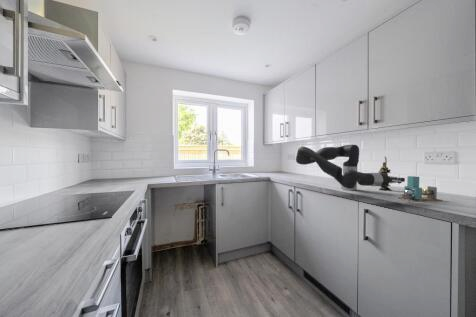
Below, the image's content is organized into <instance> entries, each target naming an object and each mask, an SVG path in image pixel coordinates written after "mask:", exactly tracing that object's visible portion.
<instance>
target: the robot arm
mask: <svg viewBox="0 0 476 317" xmlns="http://www.w3.org/2000/svg"><path fill="white" fill-rule="evenodd" d="M341 157H342V158H348V159H347V160H346V161H344V162H343V163H342V167H341V166H339V165H337V164H335V163H333V162H332V161H331V160H335V159H337V158H341ZM359 158H360V148H359V145H357V144H344V145H341V146H335V147H334V146H327V147H322V148H320V149H318V150H317V151H314V150H313V149H311V148H309V147H307V146H300V147H299V148H298V149H297V153H296V157H295V162H296V163H297V164H299V165H302V166H303V165H304V166H305V165H309V164H313V163H316V164H317V166H318V167H319V168H320V170H321V171H322V172H324V173H325V174H327V175H328V176H330V177H332V178H333V179H334V180H336V181H337V183H339V184H340V186H341V190H342V189H343V190H346V191H357V190H358V185H360V186H364V187H365V186H371V187H381V186H387V185H388V184H389V185H390V184H402V183H404V182H405V180H406V178H404V177H398V176H393V175H389V174H388V173H387V174H388V175H387V174H386V173H380V172H361V171H358V165H359V160H360V159H359ZM330 161H331V162H330Z"/></svg>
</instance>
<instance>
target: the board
mask: <svg viewBox="0 0 476 317" xmlns="http://www.w3.org/2000/svg"><path fill="white" fill-rule="evenodd" d="M397 199H399V200H403V201H407V202H411V201H414V202H443V199H439V198H436V199H431V198H427V196H422V199H412V200H409V199H404V198H402V197H401V196H397Z"/></svg>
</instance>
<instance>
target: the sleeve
mask: <svg viewBox="0 0 476 317" xmlns="http://www.w3.org/2000/svg"><path fill="white" fill-rule="evenodd" d="M406 184H407V185H404V189H403V191H404V190H414V195H411V196H412V199H422V197H423V195H422V190H423V187H420V176H415V175H407V182H406Z"/></svg>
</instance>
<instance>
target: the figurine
mask: <svg viewBox="0 0 476 317" xmlns="http://www.w3.org/2000/svg"><path fill="white" fill-rule="evenodd" d="M387 163H388V162H387V156H384V162H382V166H381V167H380V168H379V170H378V173H386V174H387V175H388V176H389V174H390V173H391V169H389V167H388V166H387ZM390 187H391V184H390V183H389V184H388V185H387V186H380V187H379V189H378V190H379V191H384V192H388V191H390V192H391V191H392V189H390Z"/></svg>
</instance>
